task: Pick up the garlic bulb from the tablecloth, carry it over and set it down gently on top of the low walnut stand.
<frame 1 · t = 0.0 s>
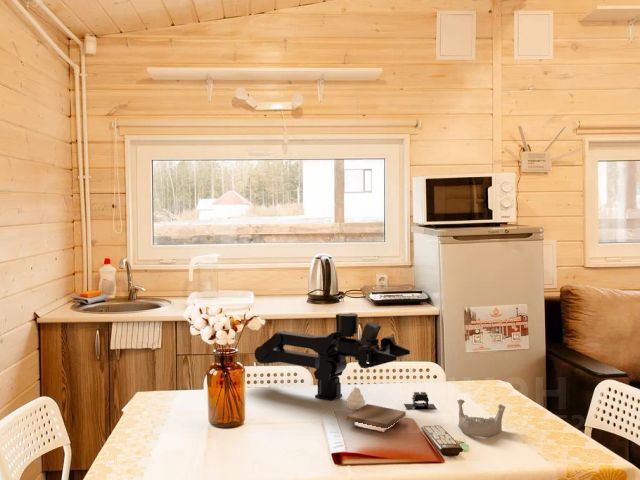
hand: (403, 355, 179), 17 cm above the table, tool horizontal, fingers open, 9 cm apart
anatomical model: (478, 431, 164), on the table
build plate: (420, 409, 184), on the table
walnut stand: (376, 424, 169), on the table
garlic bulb: (355, 407, 183), on the table
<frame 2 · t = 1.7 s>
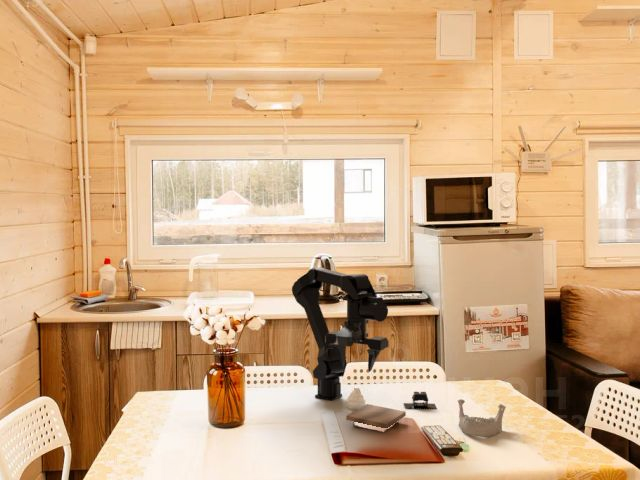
hand: (356, 368, 183), 11 cm above the table, tool pointing down, fingers open, 9 cm apart
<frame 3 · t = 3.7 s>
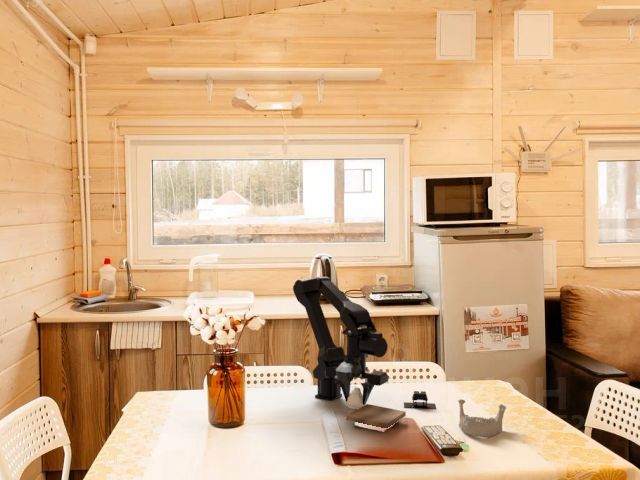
hand: (355, 402, 183), 1 cm above the table, tool pointing down, fingers closed on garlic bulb, 5 cm apart
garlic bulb: (356, 407, 184), on the table, touching gripper
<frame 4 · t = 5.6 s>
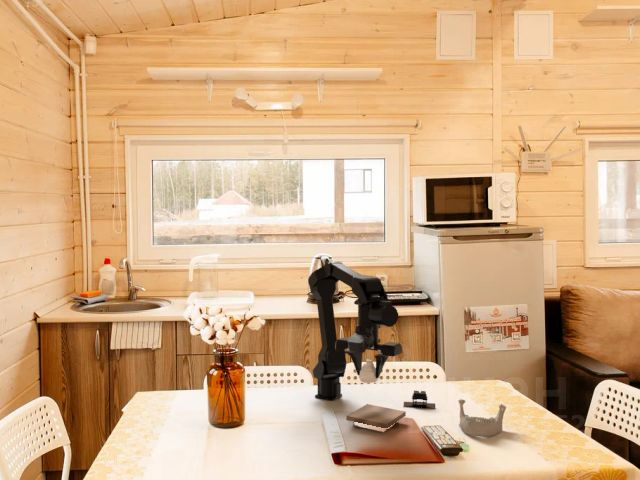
hand: (368, 376, 174), 12 cm above the table, tool pointing down, fingers closed on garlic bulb, 5 cm apart
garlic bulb: (368, 381, 175), point 10 cm above the table, touching gripper
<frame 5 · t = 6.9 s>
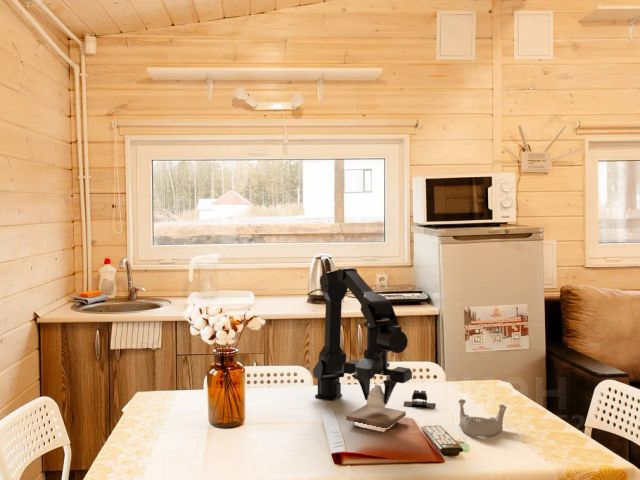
hand: (376, 401, 168), 6 cm above the table, tool pointing down, fingers closed on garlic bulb, 5 cm apart
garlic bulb: (376, 406, 169), point 5 cm above the table, touching gripper
when the fingers open (6 cm above the table, at t = 7.8 s): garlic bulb drops 1 cm, resting on walnut stand.
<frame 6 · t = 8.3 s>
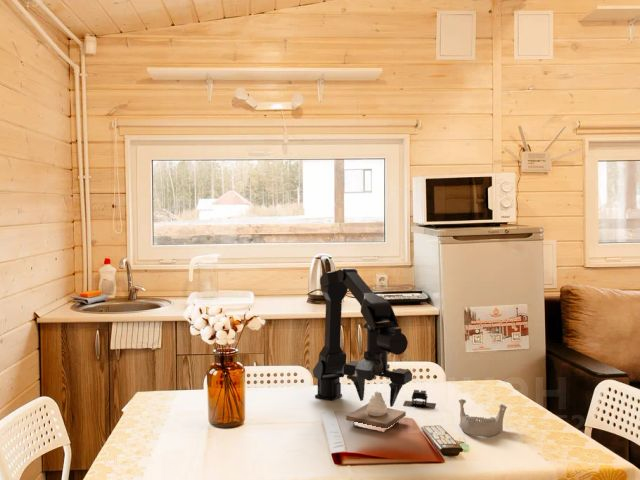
hand: (376, 403, 168), 6 cm above the table, tool pointing down, fingers open, 9 cm apart
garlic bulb: (376, 414, 169), point 3 cm above the table, touching walnut stand
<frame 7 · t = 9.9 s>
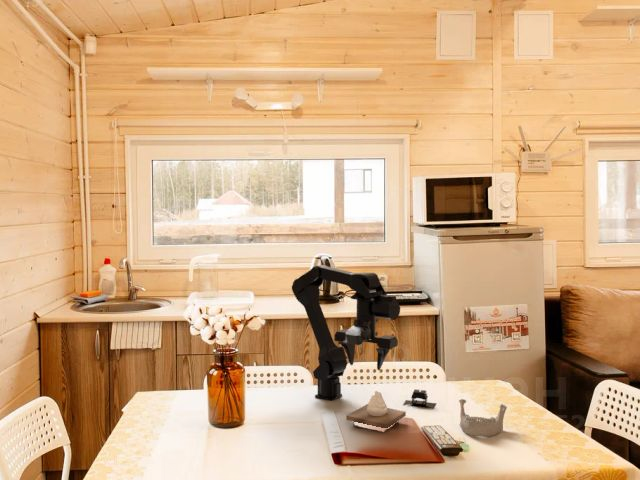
hand: (365, 367, 183), 12 cm above the table, tool pointing down, fingers open, 9 cm apart
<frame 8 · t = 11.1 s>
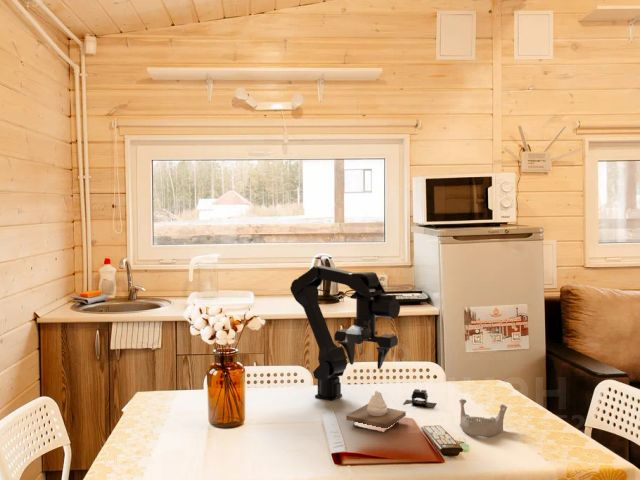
hand: (365, 366, 183), 12 cm above the table, tool pointing down, fingers open, 9 cm apart
at the end: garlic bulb inside the target area on the walnut stand (0.3 cm from its centre), point 2.8 cm above the walnut stand's base; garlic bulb touching walnut stand; the gripper is holding nothing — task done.
